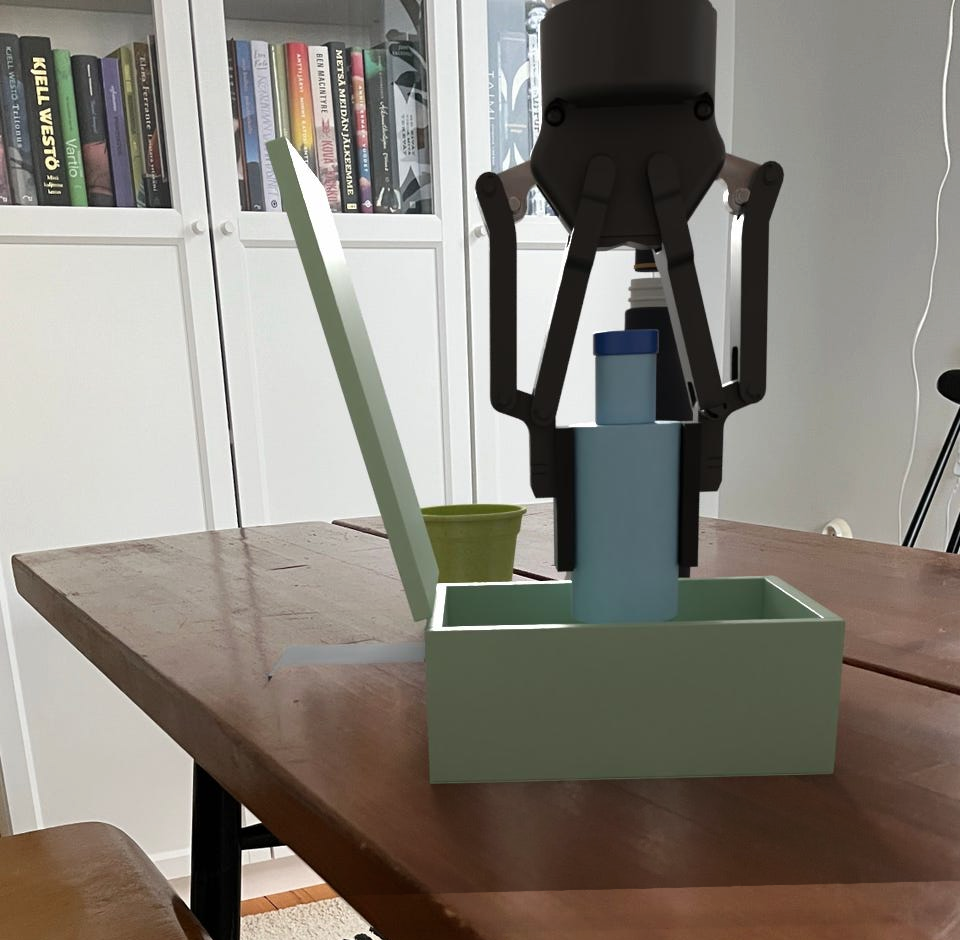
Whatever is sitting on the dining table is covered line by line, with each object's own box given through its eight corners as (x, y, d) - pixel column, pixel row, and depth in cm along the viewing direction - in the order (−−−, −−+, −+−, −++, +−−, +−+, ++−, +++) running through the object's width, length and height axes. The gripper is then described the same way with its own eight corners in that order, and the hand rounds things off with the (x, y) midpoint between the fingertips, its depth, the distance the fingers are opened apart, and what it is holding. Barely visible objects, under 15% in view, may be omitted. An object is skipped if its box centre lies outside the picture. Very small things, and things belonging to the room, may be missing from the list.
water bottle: (669, 605, 65) (674, 330, 60) (685, 623, 60) (692, 326, 55) (567, 608, 65) (564, 335, 60) (575, 627, 60) (573, 331, 55)
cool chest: (767, 715, 71) (775, 575, 68) (832, 789, 58) (846, 620, 55) (437, 723, 71) (432, 583, 68) (430, 799, 58) (423, 630, 56)
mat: (427, 648, 91) (427, 642, 91) (423, 679, 81) (422, 672, 81) (289, 652, 91) (288, 645, 91) (268, 683, 81) (267, 676, 81)
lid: (323, 185, 61) (306, 191, 62) (284, 135, 49) (264, 142, 49) (439, 572, 68) (424, 577, 68) (432, 617, 55) (414, 622, 55)
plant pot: (409, 633, 97) (405, 516, 94) (412, 611, 105) (407, 504, 102) (531, 629, 97) (530, 513, 94) (523, 608, 106) (522, 501, 103)
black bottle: (583, 635, 94) (586, 184, 83) (640, 624, 98) (650, 191, 87) (648, 647, 89) (660, 171, 79) (705, 634, 93) (724, 179, 83)
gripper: (406, -12, 50) (435, 584, 58) (870, -31, 50) (833, 569, 58) (414, 36, 57) (438, 561, 65) (820, 20, 57) (793, 548, 65)
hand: (624, 564), depth 61 cm, fingers closed on water bottle, 5 cm apart
